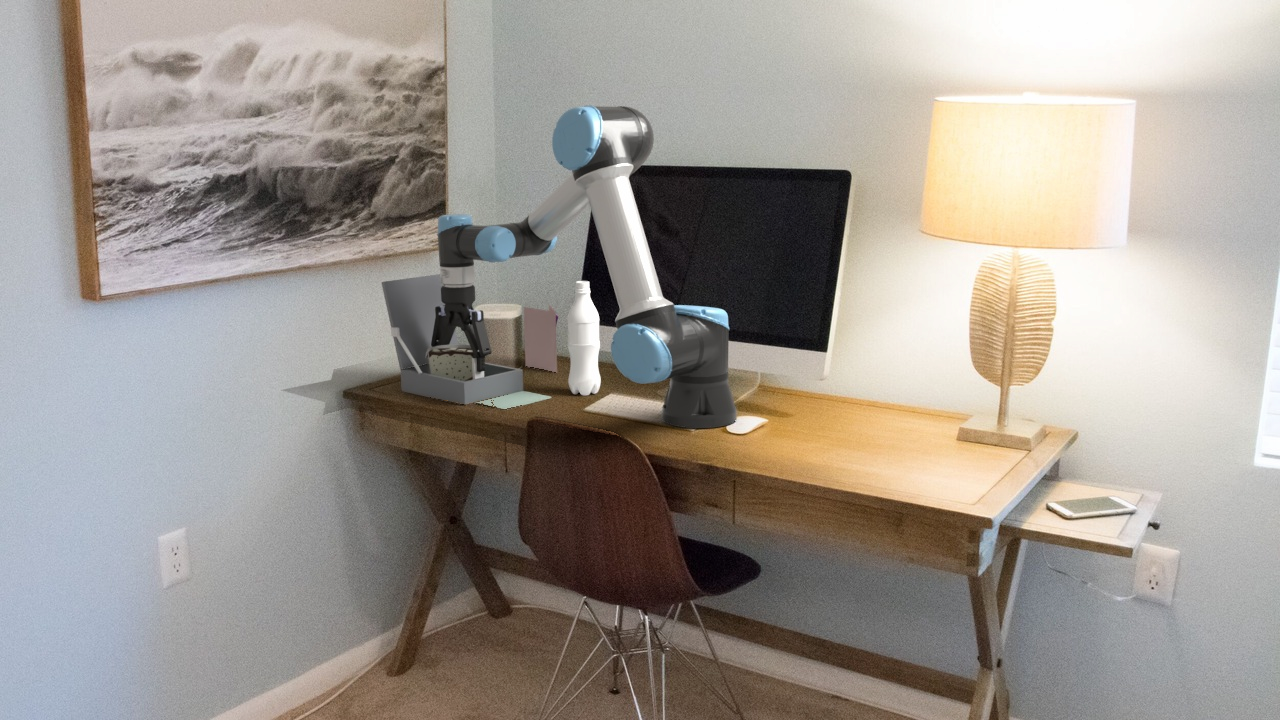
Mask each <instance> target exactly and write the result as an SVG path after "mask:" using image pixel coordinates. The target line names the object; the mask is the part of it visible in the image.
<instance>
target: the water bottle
mask: <svg viewBox="0 0 1280 720" xmlns="http://www.w3.org/2000/svg"><path fill="white" fill-rule="evenodd" d="M574 290H575V291H574V293H575V297H574V301H573V303H572V305H571V307H570V309H569V311H568V314H567V319H566V322H567V349H568V352H569V359H570V360H569V361H570V366H569V367H570V368H569V369H570V370H569V375H568V379H567V380H568V386H569V390H570V391H571V393H572V394H573V395H578V393H580V394H579V395H581V396H584V397H585V396H589V395H590V394H594V395H597V393H598V392H599V390H600V387H601V383H602V380H601V378H602V377H601V374H600V370H599V352H600V348H601V341H600V321H601V320H600V316H599V312H598V310H597V308H596V306H595V305H594V302H593V300H592V298H591V288H590V281H588V280H578V281H575V289H574Z"/></svg>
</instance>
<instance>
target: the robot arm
mask: <svg viewBox="0 0 1280 720" xmlns="http://www.w3.org/2000/svg"><path fill="white" fill-rule="evenodd" d="M555 124H556V125H555V127H554V129H553V132H552V137H551V138H552V139H551V140H552V141H551V143H552V145H551V147H552V151H553V155H554V157H555V159H556V161H557V163H558V164H559V165H561V166H562V167H563V168H564V169H566V170H568V171H571V172H572V173H571V174H570V175H569V176H568V177H567V178H566V179H565V180H564V181H562V182H561V183H560V185H558V186H557V188H555V190H553V192H552V193H550V194H549V195H548V196H547V198H545V199H544V200H543V201H542V202H541V203H540V204H539V205H538V206H537V207H536V208H535V209H534V210H532V212H531V213H530V214H529V215H527V216H526V217H525V218H524V219H523V220H522V221H520V222H510V223H502V224H489V225H476V224H473V220H472V219H473V217H472V216H471V215H470V214H464V213H461V214H458V213H457V214H456V213H454V214H445V215H444V214H443V215H440V216H439V217H438V219H437V233H436V235H437V241H438V242H437V243H438V244H437V245H438V258H439V259H438V261H439V274H440V281H441V284H443V285H444V286H442V287H441V301H442V303H444V304H445V305H443V306H437V307H435V314H436V317H435V323H434V329H433V336H432V342H431V346H432V347H435V346H440V345H449V344H450V341H451V339H452V336H453V334H454V331H455V330H456V328H457V327H458V328H460V330H461V332H463V333H464V335H465V337H466V339H467V341H468V345H470V347H471V349H472V351H473V354H474V356H473V357H472V372H473V379H478V378H482V377H484V371H485V363H486V356H488V355H492V348H491V344H490V340H489V336H488V333H487V329H486V324H485V320H484V316H485V315H484V311H483V310H474V306H473V303H474V302H475V301H476V286H475V285H474V283H475V282H476V278H475V277H476V275H475V274H476V273H475V261H482V262H488V263H502V262H507V261H508V260H509V259H513V258H519V257H520V258H521V257H529V256H540V255H543V254H547V253H549V252H551V251H553V250H554V248H555V247H556V246H555V245H556V243H557V239H558V235H560V233H562V232H563V231H564V230H565V229H566V228H567V227H568V226H570V225H571V224H572V223H573V222H574V221H575V220H576V219H577V218H578V217H579V216H581V214H583V213H584V211H586V210H587V209H588V208H589V207H590V210H591V213H592V217H593V221H594V224H595V227H596V231H597V234H598V238H599V241H600V245H601V248H602V252H603V255H604V258H605V261H606V265H607V268H608V273H609V276H610V279H611V282H612V286H613V289H614V293H615V298H616V301H617V304H618V306H619V312H618V313H617V316H616V317H615V320H614V322H615V325H616V328H617V330H616V331H615V332H614V333H613V335H612V342H611V343H610V350H611V351H610V353H611V357H612V359H613V362H614V364H615V366H616V368H617V369H618V371H619V372H620V373H621V374H622V375H623V376H624V377H625V378H626V379H627V378H628V379H629V380H630V381H632V382H634V383H636V384H640V385H643V384H646V385H647V384H651V383H652V384H653V383H655V384H656V383H660V382H663V381H664V380H668V379H669V380H670V381H669V385H668V388H667V392H666V395H665V398H664V401H663V405H662V407H661V420H662V421H663V422H664V423H665V424H668V425H671V426H675V427H680V428H689V429H709V428H710V429H712V428H719V427H725V426H729V425H731V424H734V423H735V422H736V421H737V418H738V417H737V414H738V413H737V412H738V409H737V406H736V404H735V400H734V397H733V394H732V391H731V386H730V384H729V341H730V340H729V334H730V333H729V331H730V326H729V316H728V313H727V312H726V310H724V309H722V308H718V307H713V306H711V307H710V306H700V305H689V304H688V305H686V304H684V305H683V304H678V305H677V304H676V305H675V304H674V303H673V302H672V301H670V300H668V298H667V299H666V298H665V297H664V296H663V292H662V288H661V285H660V283H659V277H658V275H657V271H656V269H655V265H654V261H653V258H652V255H651V252H650V250H651V249H650V247H649V244H648V240H647V237H646V234H645V230H644V226H643V223H642V221H641V216H640V213H639V209H638V205H637V203H636V200H635V196H634V192H633V189H632V185H631V182H630V176H632V175H633V174H634V173H635V172H636V171H638V169H640V168H641V166H643V164H645V162H646V161H647V159H648V158H650V157H649V156H650V154H651V153H652V150H653V148H654V144H655V143H654V141H655V139H654V138H655V137H654V130H653V126H652V124H651V122H650V121H649V119H648V118H647V117H646V115H644V114H643V112H641V111H639V110H638V109H635V108H633V107H631V106H624V105H623V106H621V105H620V106H598V105H597V106H594V105H584V106H579V107H578V106H576V107H572V108H570V109H568V110H566V111H564V113H563V114H562V115H560V116H559V119H558V120H557V122H556V123H555ZM437 340H438V341H437ZM478 350H479V352H478ZM735 420H736V421H735ZM734 421H735V422H734Z"/></svg>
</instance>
